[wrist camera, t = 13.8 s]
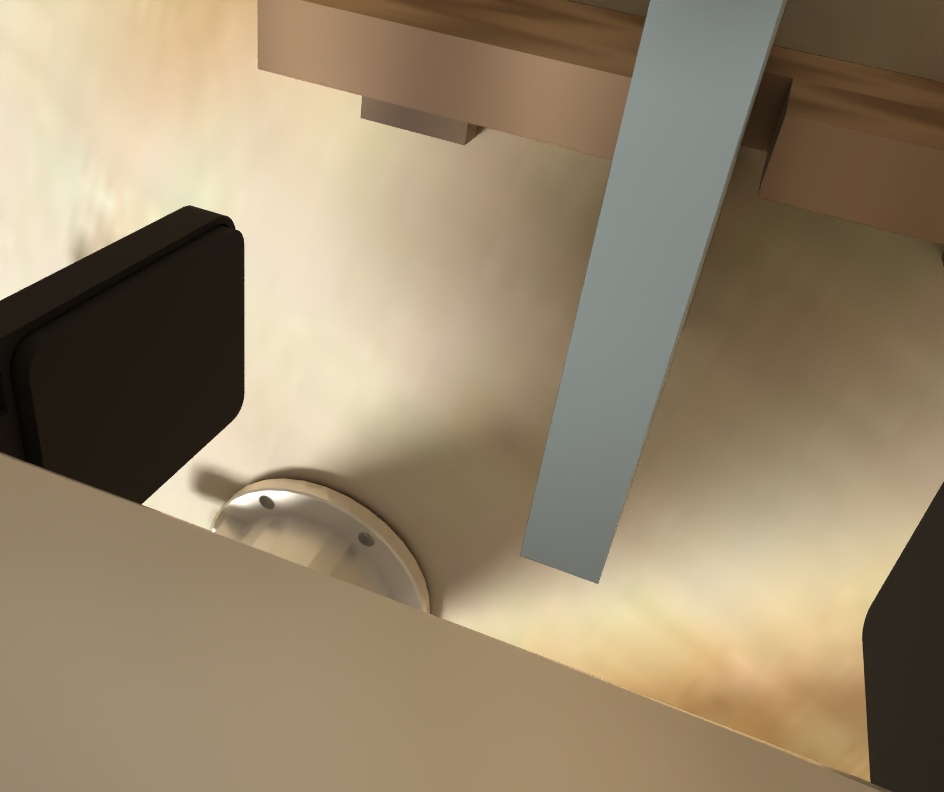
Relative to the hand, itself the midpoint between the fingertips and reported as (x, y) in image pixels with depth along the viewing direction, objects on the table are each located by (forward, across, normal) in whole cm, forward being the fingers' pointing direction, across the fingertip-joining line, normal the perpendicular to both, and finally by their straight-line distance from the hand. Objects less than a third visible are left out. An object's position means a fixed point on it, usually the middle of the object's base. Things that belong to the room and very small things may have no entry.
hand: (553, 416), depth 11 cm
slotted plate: (+20, 0, -1) cm, 20 cm away
